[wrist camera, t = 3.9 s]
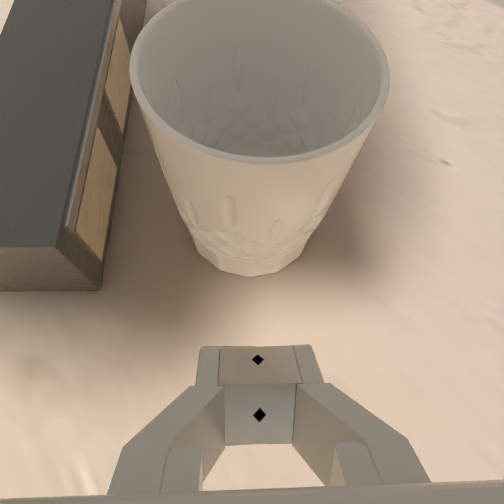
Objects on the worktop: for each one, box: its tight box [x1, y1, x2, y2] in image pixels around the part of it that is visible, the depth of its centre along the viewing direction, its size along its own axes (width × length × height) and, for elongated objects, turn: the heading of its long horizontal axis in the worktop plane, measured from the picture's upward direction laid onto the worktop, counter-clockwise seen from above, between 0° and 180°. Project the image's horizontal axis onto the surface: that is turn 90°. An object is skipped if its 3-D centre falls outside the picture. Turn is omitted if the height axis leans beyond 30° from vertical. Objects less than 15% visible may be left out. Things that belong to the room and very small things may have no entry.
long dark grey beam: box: [0, 0, 147, 291], centre depth 21 cm, size 5×24×5 cm, turn 1°
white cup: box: [129, 0, 390, 277], centre depth 16 cm, size 8×8×10 cm
